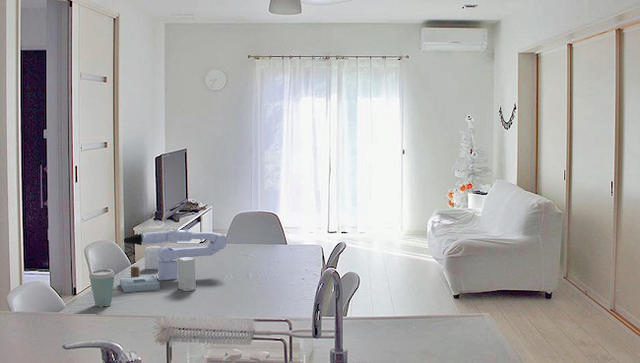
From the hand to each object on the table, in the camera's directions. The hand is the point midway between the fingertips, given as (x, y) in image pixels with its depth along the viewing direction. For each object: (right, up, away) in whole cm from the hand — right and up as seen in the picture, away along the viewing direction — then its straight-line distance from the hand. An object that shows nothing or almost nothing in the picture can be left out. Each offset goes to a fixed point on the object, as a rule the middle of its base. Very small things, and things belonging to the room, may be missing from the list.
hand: (125, 240), depth 333 cm
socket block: (+9, -21, -8) cm, 25 cm away
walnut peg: (+4, -20, +4) cm, 21 cm away
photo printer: (+7, -18, +31) cm, 37 cm away
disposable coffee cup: (+2, -24, -41) cm, 48 cm away
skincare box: (+32, -22, -11) cm, 41 cm away
